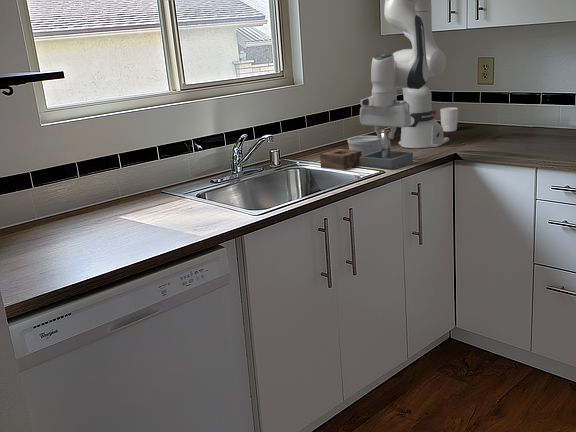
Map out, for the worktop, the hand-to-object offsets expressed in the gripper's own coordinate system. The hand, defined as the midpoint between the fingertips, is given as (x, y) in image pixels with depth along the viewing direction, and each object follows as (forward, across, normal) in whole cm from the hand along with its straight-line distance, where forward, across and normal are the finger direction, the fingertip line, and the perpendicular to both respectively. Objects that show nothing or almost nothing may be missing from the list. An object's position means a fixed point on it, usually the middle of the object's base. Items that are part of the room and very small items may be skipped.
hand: (385, 138), depth 231 cm
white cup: (+10, +14, -71) cm, 73 cm away
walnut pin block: (+10, +14, +9) cm, 19 cm away
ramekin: (+10, +17, -10) cm, 22 cm away
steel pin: (+7, 0, 0) cm, 7 cm away
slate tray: (+10, 0, 0) cm, 10 cm away
